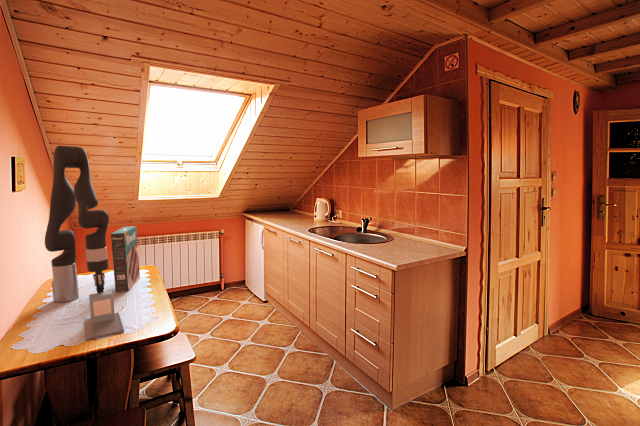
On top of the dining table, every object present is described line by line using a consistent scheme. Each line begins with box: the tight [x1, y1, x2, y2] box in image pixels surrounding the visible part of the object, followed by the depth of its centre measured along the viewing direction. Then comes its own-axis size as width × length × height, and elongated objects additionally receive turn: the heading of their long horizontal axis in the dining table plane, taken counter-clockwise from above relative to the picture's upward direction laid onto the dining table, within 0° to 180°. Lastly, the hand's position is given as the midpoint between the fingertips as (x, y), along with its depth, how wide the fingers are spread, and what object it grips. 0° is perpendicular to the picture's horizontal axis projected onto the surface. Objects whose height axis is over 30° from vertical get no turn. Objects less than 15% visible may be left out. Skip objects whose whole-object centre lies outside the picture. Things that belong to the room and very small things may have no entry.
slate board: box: [84, 312, 125, 342], centre depth 140 cm, size 20×12×1 cm, turn 35°
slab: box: [88, 290, 115, 324], centre depth 143 cm, size 8×4×11 cm, turn 125°
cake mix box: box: [110, 225, 141, 293], centre depth 188 cm, size 22×6×30 cm, turn 13°
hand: (101, 298), depth 147 cm, fingers closed
